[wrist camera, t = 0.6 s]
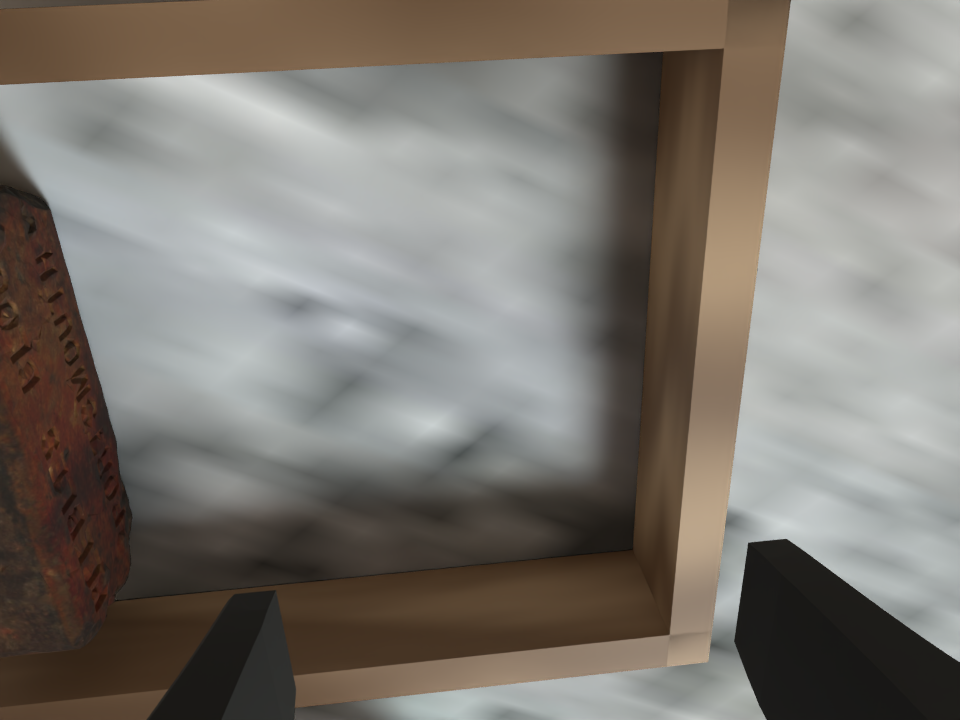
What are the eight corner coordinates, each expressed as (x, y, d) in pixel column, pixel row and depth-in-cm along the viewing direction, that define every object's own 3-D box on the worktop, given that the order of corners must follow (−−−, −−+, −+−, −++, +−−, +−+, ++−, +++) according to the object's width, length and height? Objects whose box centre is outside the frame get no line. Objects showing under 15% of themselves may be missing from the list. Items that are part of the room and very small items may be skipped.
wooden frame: (666, 575, 25) (707, 661, 21) (-25, 645, 23) (-94, 751, 20) (718, -20, 17) (794, -26, 14) (-303, 24, 15) (-488, 30, 12)
